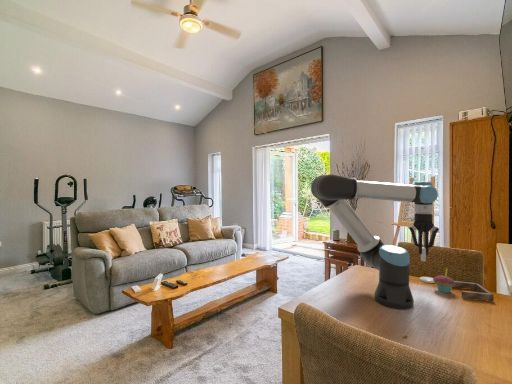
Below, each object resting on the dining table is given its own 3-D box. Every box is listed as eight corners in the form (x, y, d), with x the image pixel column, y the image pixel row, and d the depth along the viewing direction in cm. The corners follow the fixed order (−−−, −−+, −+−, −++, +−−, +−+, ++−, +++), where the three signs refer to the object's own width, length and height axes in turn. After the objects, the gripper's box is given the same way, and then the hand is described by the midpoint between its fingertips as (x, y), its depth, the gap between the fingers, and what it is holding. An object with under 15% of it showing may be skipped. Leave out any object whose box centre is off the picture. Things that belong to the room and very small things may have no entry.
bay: (462, 298, 117) (462, 291, 117) (450, 286, 131) (450, 280, 131) (493, 301, 114) (493, 294, 113) (477, 289, 127) (477, 283, 127)
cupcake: (459, 294, 121) (459, 268, 121) (441, 294, 121) (441, 268, 121) (446, 287, 130) (446, 263, 130) (429, 287, 130) (429, 263, 130)
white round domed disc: (421, 282, 136) (421, 280, 136) (417, 277, 144) (417, 276, 144) (439, 284, 134) (439, 282, 134) (434, 279, 141) (434, 277, 141)
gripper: (410, 213, 126) (409, 261, 127) (441, 214, 122) (441, 264, 123) (406, 212, 133) (406, 257, 134) (436, 212, 129) (436, 259, 130)
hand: (423, 260), depth 128 cm, fingers closed
